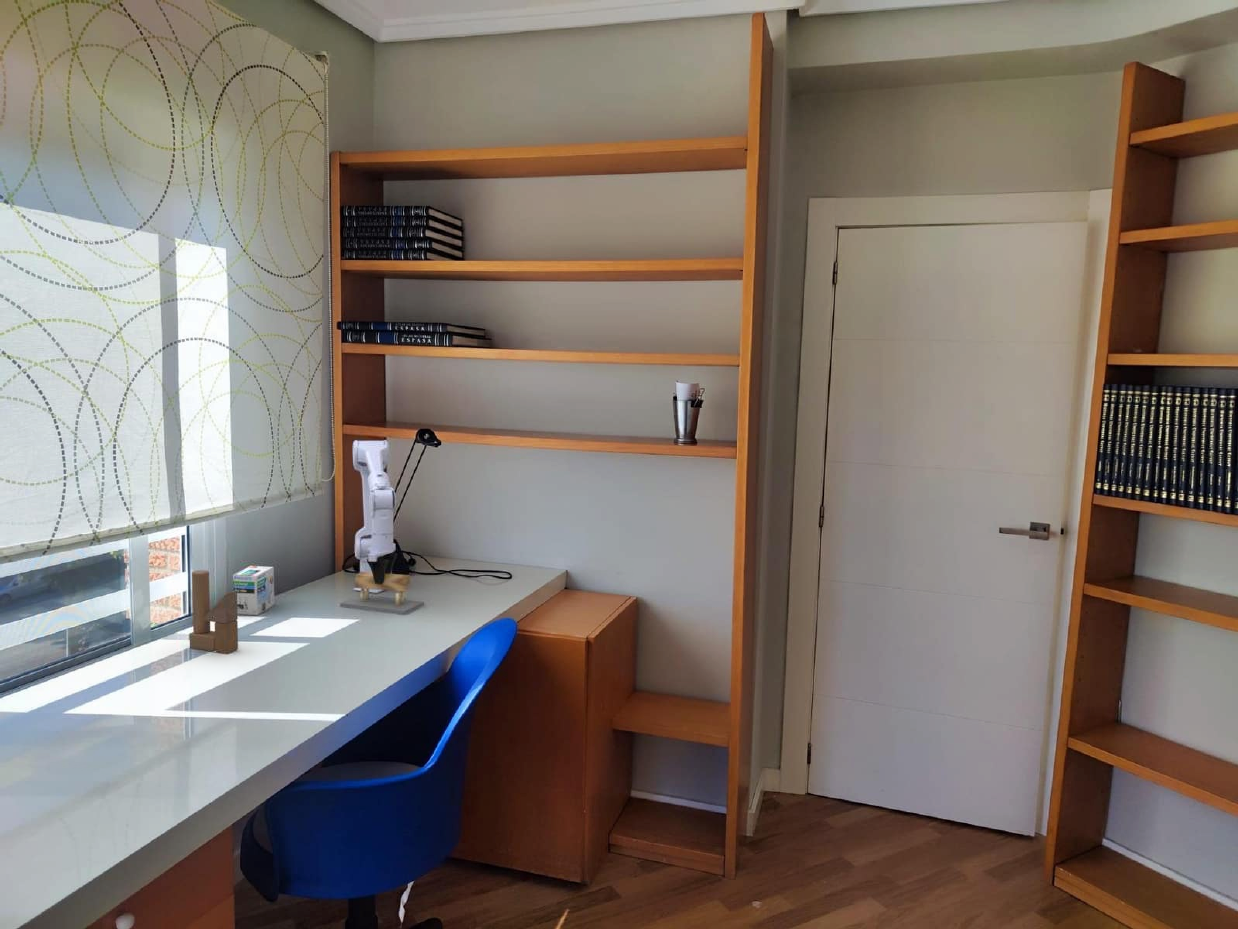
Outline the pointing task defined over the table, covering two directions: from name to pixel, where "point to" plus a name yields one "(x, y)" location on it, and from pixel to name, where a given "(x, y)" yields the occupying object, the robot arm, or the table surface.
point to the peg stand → (382, 603)
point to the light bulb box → (254, 589)
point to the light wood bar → (390, 582)
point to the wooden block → (213, 617)
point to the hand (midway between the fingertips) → (382, 581)
